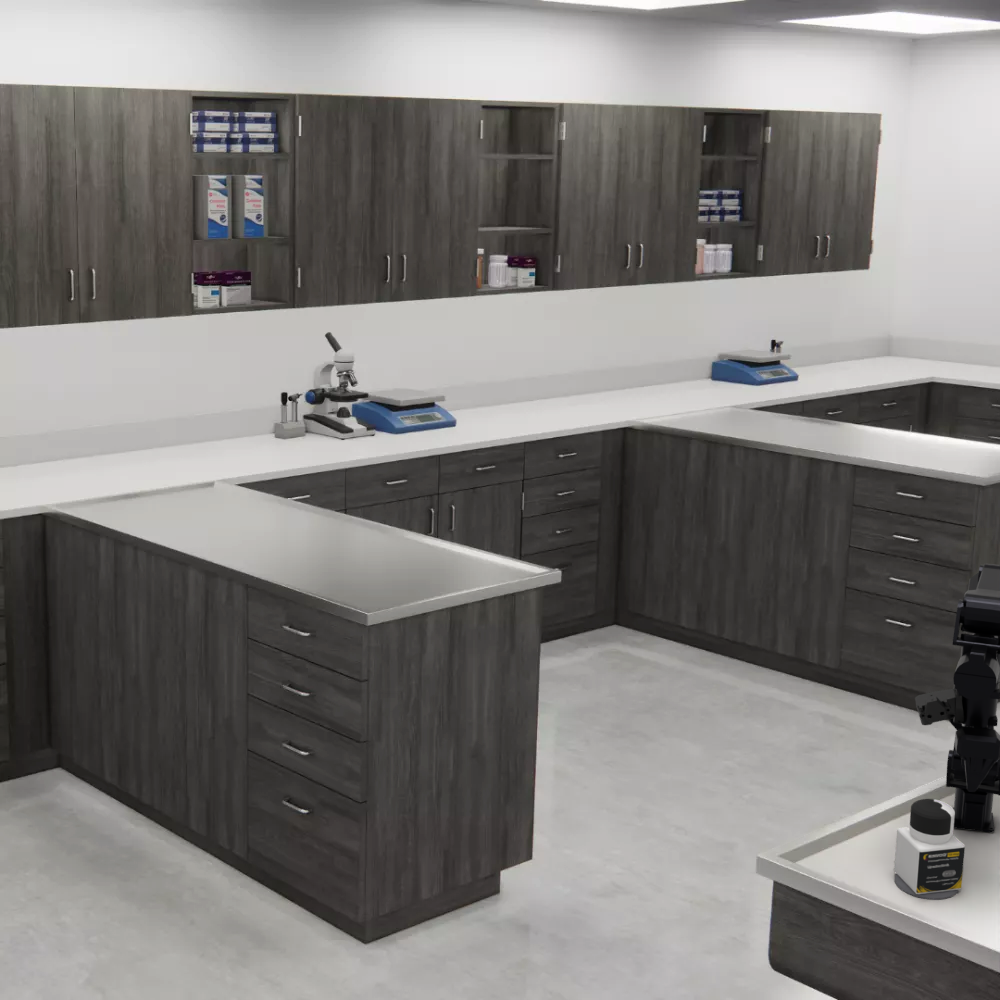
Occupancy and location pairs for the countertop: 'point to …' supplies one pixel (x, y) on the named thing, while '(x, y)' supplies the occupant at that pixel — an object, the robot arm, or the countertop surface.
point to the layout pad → (933, 896)
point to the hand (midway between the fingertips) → (968, 779)
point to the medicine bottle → (929, 849)
